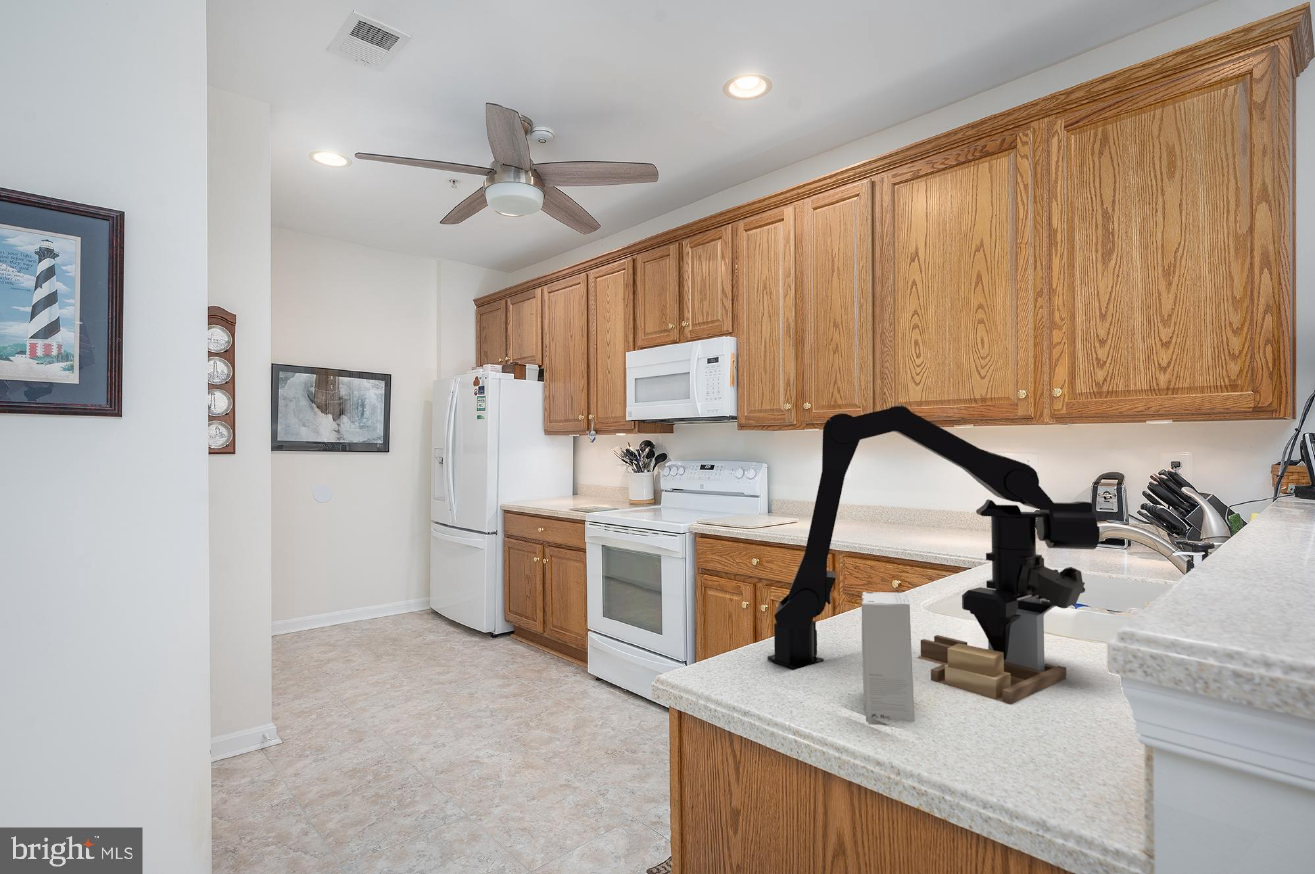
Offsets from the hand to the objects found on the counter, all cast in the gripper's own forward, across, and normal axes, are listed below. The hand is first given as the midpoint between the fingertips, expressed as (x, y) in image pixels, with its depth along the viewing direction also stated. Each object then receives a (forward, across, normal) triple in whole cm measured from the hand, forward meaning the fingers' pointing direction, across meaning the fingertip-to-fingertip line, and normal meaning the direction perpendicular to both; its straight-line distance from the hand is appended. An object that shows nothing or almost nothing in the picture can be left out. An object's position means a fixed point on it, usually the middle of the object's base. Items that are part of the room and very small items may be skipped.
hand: (1015, 654), depth 95 cm
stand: (+4, -2, +10) cm, 11 cm away
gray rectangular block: (+3, 0, 0) cm, 3 cm away
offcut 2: (+3, -11, 0) cm, 11 cm away
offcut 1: (0, -11, 0) cm, 11 cm away
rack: (+4, -5, 0) cm, 6 cm away
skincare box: (+4, -26, +4) cm, 27 cm away
